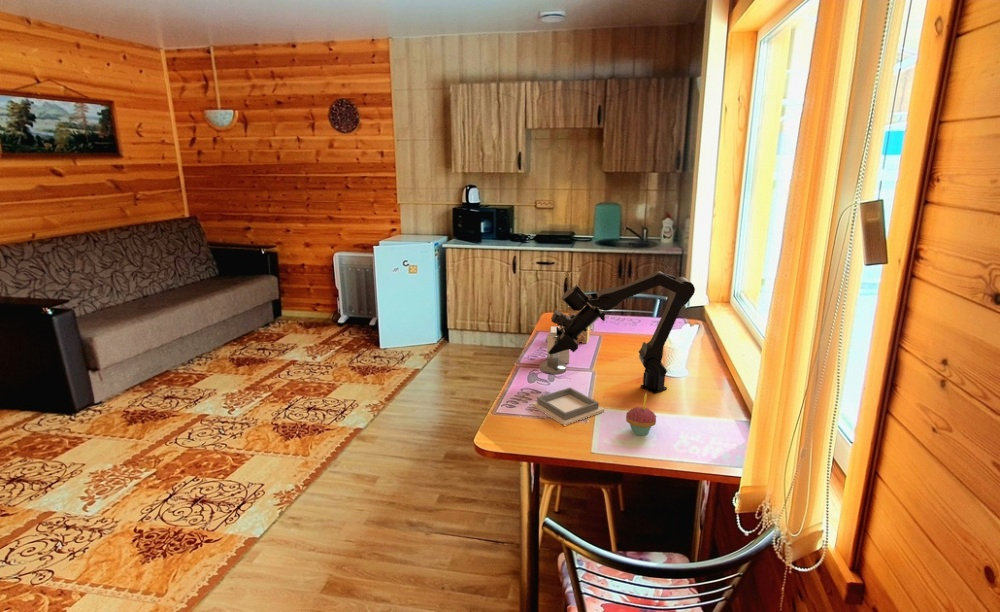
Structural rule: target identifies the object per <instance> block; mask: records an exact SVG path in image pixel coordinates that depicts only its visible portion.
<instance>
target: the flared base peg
mask: <svg viewBox="0 0 1000 612" xmlns="http://www.w3.org/2000/svg"><path fill="white" fill-rule="evenodd" d="M546 341H547V348H546V349H547V351H546V360H545V361H542V362H541V363H540V364H539V371H540V373H543V374H546V375H550V376H556V375H557V376H558V375H562V374H564V373H566V371H567V363H563V362H561V361H559V352H558V353H555V354H552V355H550V354H549V351H550V349H551V348H552V347H553V346H554V344H555V343H556V342H557V341H558V335H556V334H547V340H546Z"/></svg>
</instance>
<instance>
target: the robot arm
mask: <svg viewBox="0 0 1000 612" xmlns="http://www.w3.org/2000/svg"><path fill="white" fill-rule="evenodd" d="M656 287H663V288H664V289H667V290H668V292H669V293H668V301H667V305H666V307H665V309H664V310H663V314H662V315H661V317H660V319H659V322H658V323H657V326H656V327H655V328H656V329H655V331H654V333H653V335H652V337H651V339H650V340H649V341H648V342H647V343H646V342H645V341H644V342H643V343H642V345H641V348H640V349H639V350H638V353H639V355H638V356H639V357H638V358H639V360H640V362H641V364H642V365H643V368H644V372H643V377H642V384H640V389H644V390H646V391H648V392H650V393H652V394H657V393H659V392H662V391H665V390H666V391H667V389H668V387H667V386H665V381H666V380H665V379H666V375H667V373H668V370H667V368H666V366H664V364H663V362H662V360H663V355H664V346H665V345H666V342H667V340H668V338H669V336H670V333H671V331H672V330H673V327H674V325H675V323H676V321H677V319H678V316H679V315H680V312H681V310H682V309H683V307H685V306H686V305H687V304H688V303H689V302H690V300H691V299H692V297H693V296H694V294H695V290H696V288H695V285H694V284H693V283H692V282H691V281H690V280H688V279H687V278H686V277H685V276H678V277H676V276H673V275H671V274H667V273H664V272H662V271H660V270H656V271H654V272H652V273H650V274H647V275H645V276H643V277H640V278H638V279H635V280H633V281H629V282H628V283H625V284H623V285H621V286H620V285H619V286H614V287H612V286H611V287H607V288H602V289H600V290H598V291H597V292H593V293H586V292H584V291H583V290H582V289H581V287H580V286H579V285H578V284H575V286H573V287H571V288H569V289H567V290H566V291H565V292H564V294H563V295H562V296H561V300H562V301H563V302H564V303H565V304H566V305H567V307H568V306H569V307H570V308H571V309H572V310H573V311H576V310H577V311H579V312H578V313H577V314H576V315H575V314H574V315H573V314H572V315H571V316H568V314H565V313H563V312H561V311H559V310H554V311H553V313H552V315H551V318H550V319H551V321H550V322H552V323H553V324H554V325H557V326H555V327H556V335H558V341H557V342H556V343H555V344H554V346H553V347H552V348H551V349H550V351H549V354H550V355H552V354H555V353H558V352H561V351H565V350H569V351H572V353H575V352H576V351H577V350H578V349H579V344H578V343H579V342H577V341H576V340H577V339H578V336H579V335H580V334H581V333H582V332H583V331H585V332H586V331H587V328H588V327H589V326H590V325H591V324H592V323H593V322H594V321H595V320H596V319H597V318H599V319H600V320H602V321H603V322H605V321H606V312H608V311H610V310H612V309H614V308H616V307H617V306H619V305H620V304H621V303H622V302H624V301H625V300H626V299H629V298H632V297H634V296H636V295H639V294H641V293H644V292H646V291H649V290H652V289H654V288H656ZM588 302H589V303H590V304H591V305H592V306H591V305H590V304H589V303H588ZM585 305H586V306H585ZM584 306H585V307H584ZM583 307H584V308H583ZM582 308H583V309H582ZM581 309H582V310H581ZM600 309H601V310H602V311H600ZM596 321H597V320H596ZM596 321H595V322H596ZM595 322H594V323H595ZM592 325H593V324H592ZM558 327H559V328H558Z"/></svg>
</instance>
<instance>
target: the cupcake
mask: <svg viewBox="0 0 1000 612" xmlns="http://www.w3.org/2000/svg"><path fill="white" fill-rule="evenodd" d="M643 396H644V397H643V405H642V407H641V406H640V407H638V406H637V407H633V408H631V409H630V410H628V411H627V412H626V416H625V419H626V422H627V423H628V424H629V426H630V430H631V432H632V434H634V435H636V434H637V435H636V436H640V435H644V436H647V435H648V434H649V432H650V430H651V428H652V427H653V426H655V425H657V416H656V414H655V412H654V411H653V410H650V409H649V408H647V407H646V405H647V397H648V394H647V391H645V394H644V395H643Z"/></svg>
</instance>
